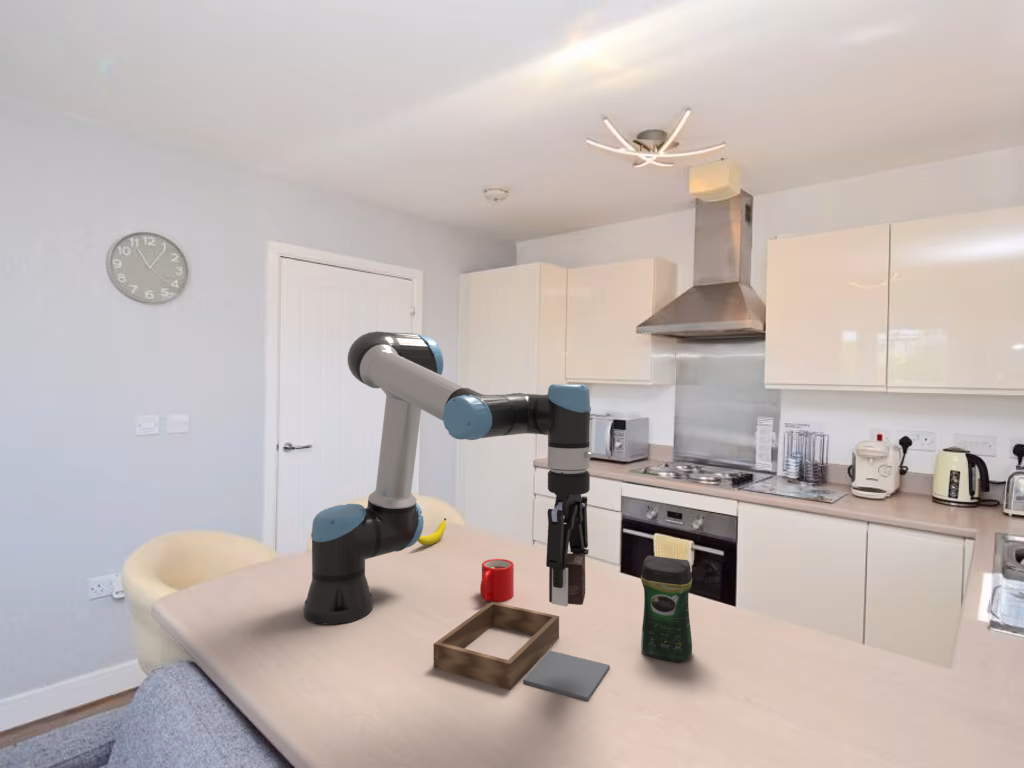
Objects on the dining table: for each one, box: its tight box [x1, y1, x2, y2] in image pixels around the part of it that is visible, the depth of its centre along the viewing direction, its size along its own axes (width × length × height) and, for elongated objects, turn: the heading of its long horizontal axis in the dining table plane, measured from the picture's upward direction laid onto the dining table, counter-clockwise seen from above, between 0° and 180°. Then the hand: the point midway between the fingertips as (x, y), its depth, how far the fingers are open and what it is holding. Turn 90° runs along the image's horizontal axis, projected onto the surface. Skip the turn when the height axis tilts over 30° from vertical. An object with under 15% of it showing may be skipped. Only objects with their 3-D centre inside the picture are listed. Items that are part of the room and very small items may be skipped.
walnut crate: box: [433, 601, 560, 691], centre depth 111 cm, size 16×22×4 cm
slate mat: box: [522, 650, 611, 702], centre depth 102 cm, size 12×12×1 cm
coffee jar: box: [640, 555, 693, 663], centre depth 111 cm, size 10×8×19 cm
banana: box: [417, 518, 447, 546], centre depth 181 cm, size 3×19×6 cm, turn 158°
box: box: [548, 552, 586, 606], centre depth 102 cm, size 6×6×7 cm
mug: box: [479, 558, 515, 603], centre depth 138 cm, size 8×12×8 cm, turn 157°
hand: (568, 596), depth 102 cm, fingers closed on box, 7 cm apart
